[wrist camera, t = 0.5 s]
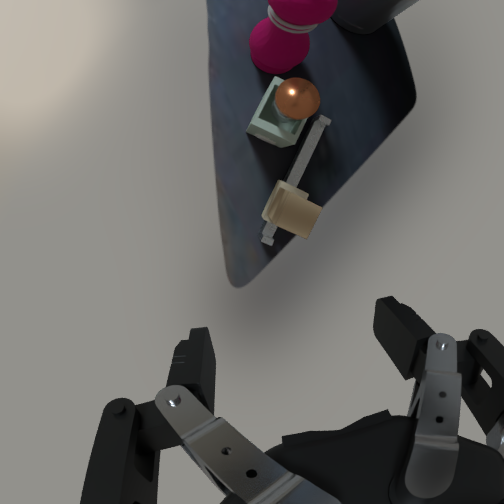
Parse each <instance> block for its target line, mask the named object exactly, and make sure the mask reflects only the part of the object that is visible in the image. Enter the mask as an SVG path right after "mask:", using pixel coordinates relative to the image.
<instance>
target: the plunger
mask: <svg viewBox="0 0 504 504" xmlns="http://www.w3.org/2000/svg"><path fill="white" fill-rule="evenodd" d="M319 104H320V96H319V93H318V91H317V89H316V87H315V86H314V85H313V84H312V83H310V82H309V81H307V80H305V79H302V78H289V79H287V80H285V81H283V82H282V83H281V84H280V85H279V87H278V88H277V90H276V92H275V99H274V101H273V102H272V104H271V108H270V109H271V114H272V116H273V117H274V118H275V119H276V120H277V121H279V122H281V123H290V122H292V121H294V120H302V119H306V118H308V117H310V116H312V115H313V114H314V113H315V112H316V111H317V109H318V108H319Z"/></svg>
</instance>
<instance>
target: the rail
mask: <svg viewBox="0 0 504 504" xmlns="http://www.w3.org/2000/svg"><path fill="white" fill-rule="evenodd" d="M330 122H331V120H330V119H328V118H326V117H325V116H323V115H319V116H317V117H315V118H313V119H312V121H311V123H310V125H309V127H308V129H307V132H306V134H305V136H304V138H303V140H302V142H301V144H300V146H299V148H298V150H297V153H296V155H295V157H294V159H293V161H292V163H291V165H290V167H289V169H288V172H287V174H286V176H285V178H284V180H283V182H286V183H288V184H290V185H292V186H294V187H297V185H298V183H299V181H300V179H301V177H302V175H303V173H304V170H305V168H306V166H307V164H308V162H309V160H310V158H311V156H312V154H313V151H314V149H315V147H316V145H317V143H318V141H319V139H320V137H321V134H322V132H323V130H324V128H325V127H327V126H329V125H330ZM277 227H278V226H276V225H275V224H273V223H270V222H268V221H266V220H264V222H263V224H262V226H261V229H260V231H259V233H258V236H259V238H260V241H261V242H263V243H266V244H268V245H270V246H272V244H273V242H274V239H273V235H274V233H275V231H276V229H277Z"/></svg>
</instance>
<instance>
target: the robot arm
mask: <svg viewBox="0 0 504 504" xmlns="http://www.w3.org/2000/svg"><path fill="white" fill-rule="evenodd" d="M418 1H419V0H338V3H337V8H336V10H335V12H334V13H333V15H332V16H331V18H332V19H333V20H334V21H335V22H336V23H337V24H339V25H340V26H341V27H343V28H344V29H346V30H348V31H351V32H354V33H357V34H370V33H372V32H374V31H376V30H377V29H378V28H380V27H381V26H382V25H384V24H385V23H387V22H388V21H390V20H391V19H392V18H394V17H395V16H397V15H398V14H400V13H401V12H403V11H404V10H405V9H407V8H408V7H410V6H411V5H413V4H414V3H416V2H418ZM373 330H374V334H375V336H376V338H377V340H378V341H379V342H380V344H381V345H382V347H383V348H384V350H385V351H386V353H387V354H388V355H389V357H390V358H391V360H392V361H393V363H394V364H395V366H396V367H397V369H398V370H399V372H400V373H401V375H402V376H403V378H404V379H405V380H408V379H410V378H413V377H414V378H415V379H416V381H415V384H414V388H413V393H412V398H411V402H410V406H409V411H408V414H407V416H400V415H397V416H391V415H390V413H389V411H388V409H387V410H384V411H381V412H378V413H375V414H372V415H369V416H366V417H363V418H362V419H360V420H358V421H356V422H354V423H352V424H351V425H349V426H347V427H345V428H343V429H341V430H334V431H307V432H302V433H298V434H292V435H286V436H282V444H279V445H277V446H275V447H273V448H271V449H269V450H268V451H266V452H265V453H263V452H262V451H261V450H260V449H259V448H257V447H256V446H255V445H254V444H253V443H251V442H250V441H249V440H248V439H246V438H245V437H244V436H243V435H242V434H241V433H239V432H238V431H237V430H236V429H235V428H234V427H233V426H231V425H230V424H229V423H228V422H227V421H226V420H225V419H223V418H222V417H218V418H216V417H215V416H214V399H215V375H216V359H215V353H214V349H213V346H212V342H211V338H210V334H209V330H208V328H207V327H203V328H192V329H191V330H190V335H189V340H181V342H179V344H178V345H177V346H176V347H175V350H174V355H173V359H172V364H171V367H170V371H169V376H168V380H167V385H166V387H165V388H163V389H162V390H160V391H159V392H158V394H157V395H156V397H155V400H153V401H150V402H146V403H143V404H138V405H134V403H133V402H132V401H131V400H129V399H127V398H118V399H115V400H112V401H111V402H109V403H108V404H107V405H106V406H105V408H104V410H103V413H102V417H101V421H100V424H99V427H98V430H97V434H96V437H95V441H94V445H93V448H92V452H91V456H90V460H89V464H88V468H87V472H86V477H85V481H84V486H83V491H82V496H81V501H80V504H157V491H158V475H159V462H160V450H163V449H167V448H171V447H175V446H178V445H180V446H181V447H182V448H183V449H184V450H185V451H186V453H187V454H188V455H189V456H190V457H191V459H192V460H193V461H194V462H195V463H196V464H197V465H198V467H199V468H201V470H202V471H203V472H204V473H205V474H206V475H207V477H208V478H209V479H210V480H211V481H212V483H213V484H214V485H215V486H216V487H217V488H218V489H219V490H220V491H221V492H222V493H223V494H224V495H225V496H226V497H225V498H224V500H223V501H222V502H221V503H220V504H504V346H503V345H502V344H501V343H500V342H499V341H498V340H497V339H496V338H495V337H494V336H493V335H492V334H491V333H490V332H488V331H486V330H483V329H476V330H474V331H472V332H471V334H470V336H469V339H468V340H464V341H455V339H454V338H453V337H451V336H450V335H447V334H443V333H438V334H436V333H435V332H434V331H433V330H432V329H431V328H430V327H429V326H428V325H427V324H426V322H425V321H424V320H423V319H421V317H420V316H419V315H417V314H416V312H415V311H414V310H413V309H412V308H411V307H409V306H407V305H405V304H402V303H401V304H400V303H399V302H398V301H397V300H396V299H395V298H394V297H393V296H388V297H384V298H380V299H377V301H376V306H375V316H374V323H373ZM483 369H484V370H485V371H486V373H487V374H488V375H489V376H490V378H491V380H492V387H491V388H490V387H489V385H488V384H487V382H486V381H485V380H484V379H483V377H482V376H481V375H480V374H481V372H482V370H483ZM461 397H462V398H463V400H464V401H465V403H466V404H467V406H468V407H469V409H470V411H471V412H472V413H473V415H474V417H475V418H476V420H477V422H478V423H479V425H480V427H481V428H482V430H483V432H484V433H485V435H486V444H487V445H484V444H481V443H478V442H475V441H472V440H470V439H467V438H464V437H461V436H459V435H458V427H459V417H460V404H461Z"/></svg>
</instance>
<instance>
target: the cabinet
mask: <svg viewBox="0 0 504 504" xmlns="http://www.w3.org/2000/svg"><path fill="white" fill-rule="evenodd" d="M283 81H285V80H283V79H281V78H278V77H276V76H275V77H274V79H273V80H272V82H271V84H270V86H269V87H268V89H267V91H266V93H265V94H264V96H263V98H262V100H261V102H260V104H259V106H258V108H257V110H256V112H255V114H254V116H253V118H252V120H251V122H250V124H249V126H248V128H247V131H246V132H247V133H249V134H251V135H254V136H256V137H257V138H259V139H261V140H263V141H265V142H267V143H270V144H273V145H275V146H277V147H279V148H283V147H287V146H291V145H295V143H296V141H297V139H298V137H299V135H300V133H301V131H302V129H303V127H304V125H305V123H306V120H307V118H306V119H302V120H294V121H292V122H290V123H281V122H279V121H277V120H276V119H275V118H274V117H273V116H272V114H271V109H270V108H271V104H272V102H273V101H274V99H275V92H276V90H277V88H278V87H279V85H280V84H281V83H282V82H283Z"/></svg>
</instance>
